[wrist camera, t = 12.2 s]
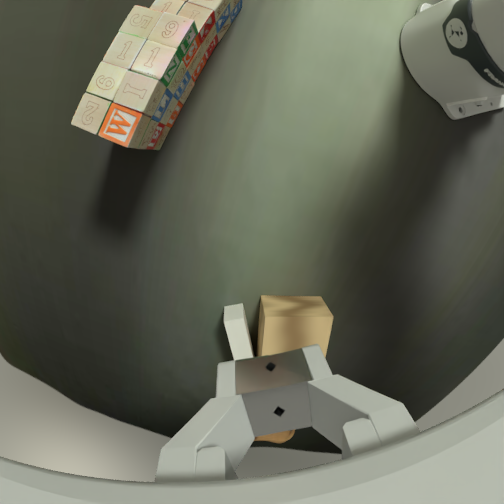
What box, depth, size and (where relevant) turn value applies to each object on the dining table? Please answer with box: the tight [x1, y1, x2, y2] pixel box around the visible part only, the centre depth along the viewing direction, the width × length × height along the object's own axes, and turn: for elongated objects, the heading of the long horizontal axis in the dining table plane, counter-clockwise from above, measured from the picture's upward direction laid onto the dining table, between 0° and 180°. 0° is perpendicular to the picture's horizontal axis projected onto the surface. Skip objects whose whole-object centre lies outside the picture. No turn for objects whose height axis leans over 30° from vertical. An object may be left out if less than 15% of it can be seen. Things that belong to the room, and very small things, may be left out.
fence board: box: [224, 303, 255, 361], centre depth 40 cm, size 2×13×4 cm, turn 11°
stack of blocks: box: [71, 0, 242, 150], centre depth 25 cm, size 21×6×12 cm, turn 153°
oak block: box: [256, 295, 333, 357], centre depth 39 cm, size 8×10×6 cm
